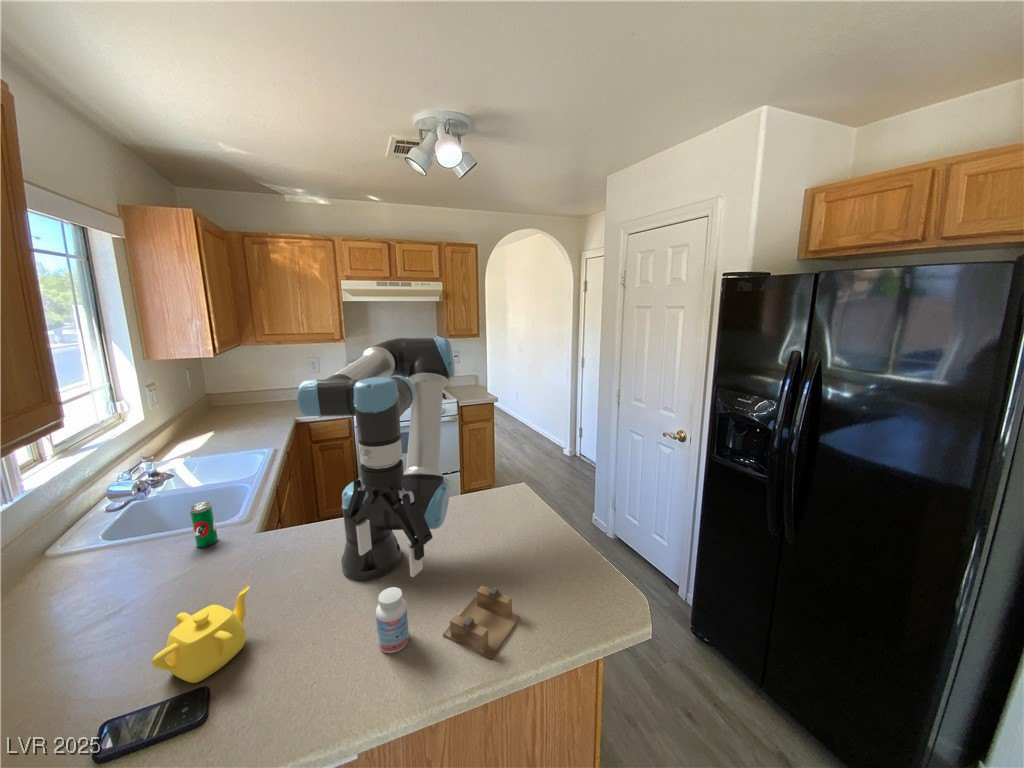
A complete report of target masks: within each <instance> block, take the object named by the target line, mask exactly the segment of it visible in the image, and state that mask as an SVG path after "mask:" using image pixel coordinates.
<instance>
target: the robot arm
mask: <svg viewBox="0 0 1024 768" xmlns="http://www.w3.org/2000/svg"><path fill="white" fill-rule="evenodd" d="M452 377H455V361H454V355H453V349H452V345H451V342H450V340H448V339H447V338H445V337H436V336H435V337H434V336H433V337H422V338H421V337H420V338H419V337H413V338H412V337H410V338H409V337H405V338H404V337H400V338H391V339H388V340H385V341H381V342H380V343H377V344H375V345H373V346H370V347H368V349H365V350H364V351H363V353H362V355H361V357H359V359H357V360H355V361H353V362H351V363H350V364H348V365H346V366H345V367H343V368H341V370H338V371H337V372H335V373H333V374H332V375H330V376H328V377H327V378H323V379H318V378H315V379H306V380H303V381H302V382H301V383H300V385H299V386H298V389H297V393H296V402H297V408H298V410H299V411H300V413H301V414H302V415H304V416H305V417H306V416H307V417H319V418H324V417H325V418H326V417H329V418H330V417H355V422H356V430H357V442H358V449H359V461H360V462H359V463H360V464H361V465H360V473H361V477H359V478H356V479H355V480H354V481H352V482H350V483H349V484H348V485H346V487H345V488H344V489H343V491H342V493H341V502H342V503H341V509H342V514H343V523H344V525H343V526H344V531H345V533H344V534H345V546H344V551H343V554H342V556H341V560H340V561H341V571H342V573H343V575H344V576H345V577H346V578H348V579H350V580H353V581H359V582H366V581H373V580H377V579H379V578H381V577H385V576H387V575H388V574H390V573H391V572H392V571H393V572H394V570H396V568H397V567H398V566H399V564H400V563H401V561H402V548H401V546H400V544H399V542H398V540H397V537H396V535H395V533H394V531H403V532H404V534H405V536H406V537H407V539H408V540H409V542H410V543H409V544H408V545H407V548H408V549H407V550H408V563H409V576H410V577H412V578H415V576H417V574H419V573H420V572H421V571H422V570H423V569H424V567H423V563H424V562H423V558H424V557H425V544H427V543H428V542H430V541H431V540H433V534H432V532H431V530H436V529H439V528H441V526H442V525H443V524H444V522H445V519H446V516H447V513H448V512H447V511H448V507H449V500H450V484H449V483H448V482H447V481H445V475H444V474H443V473H441V471H440V452H441V451H440V450H441V449H440V448H441V436H442V435H441V434H442V433H441V432H442V413H443V395H444V394H443V392H444V391H443V390H444V388H445V387H447V385H449V379H450V378H452ZM409 409H410V417H409V432H408V440H407V441H408V443H407V456H406V468H405V470H404V463H403V462H404V461H403V459H402V458H403V448H402V447H403V445H402V434H401V433H402V432H401V417H402V415H403V414H404V413H405V412H406V411H407V410H409Z"/></svg>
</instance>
